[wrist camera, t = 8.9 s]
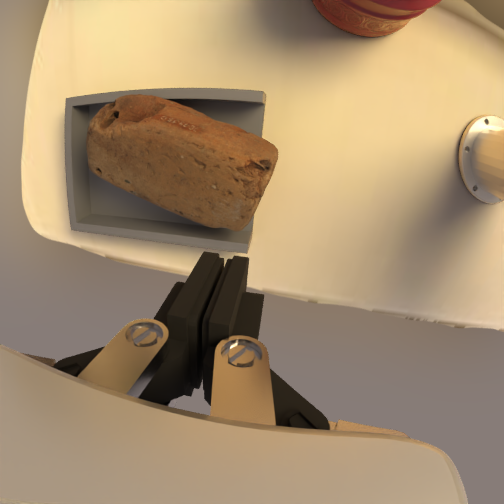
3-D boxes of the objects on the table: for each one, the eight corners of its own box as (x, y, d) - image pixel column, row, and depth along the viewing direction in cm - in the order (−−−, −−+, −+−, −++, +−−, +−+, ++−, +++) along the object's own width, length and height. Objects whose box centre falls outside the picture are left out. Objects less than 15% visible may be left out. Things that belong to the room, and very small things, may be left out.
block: (237, 247, 34) (84, 181, 31) (253, 202, 38) (116, 146, 36) (275, 178, 25) (80, 103, 23) (288, 136, 30) (122, 75, 27)
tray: (266, 94, 32) (263, 91, 28) (251, 239, 40) (247, 253, 36) (84, 98, 33) (65, 98, 29) (87, 219, 41) (71, 230, 37)
